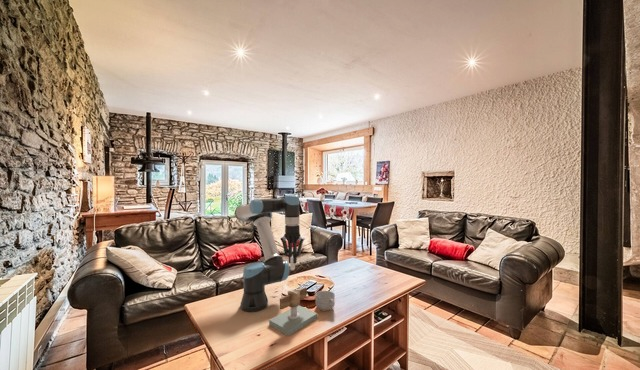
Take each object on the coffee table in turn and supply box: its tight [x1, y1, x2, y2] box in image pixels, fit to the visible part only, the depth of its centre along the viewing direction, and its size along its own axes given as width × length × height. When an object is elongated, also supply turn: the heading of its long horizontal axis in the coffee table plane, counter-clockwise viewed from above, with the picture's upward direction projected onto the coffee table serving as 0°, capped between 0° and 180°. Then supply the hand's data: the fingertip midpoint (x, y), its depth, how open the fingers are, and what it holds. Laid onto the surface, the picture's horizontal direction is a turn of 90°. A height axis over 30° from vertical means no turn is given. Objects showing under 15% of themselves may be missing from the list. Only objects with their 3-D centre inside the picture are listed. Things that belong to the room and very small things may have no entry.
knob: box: [279, 286, 308, 310], centre depth 132 cm, size 6×17×6 cm, turn 139°
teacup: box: [314, 290, 336, 312], centre depth 144 cm, size 14×11×8 cm
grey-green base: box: [268, 304, 319, 337], centre depth 132 cm, size 14×20×8 cm
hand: (292, 269), depth 138 cm, fingers closed
